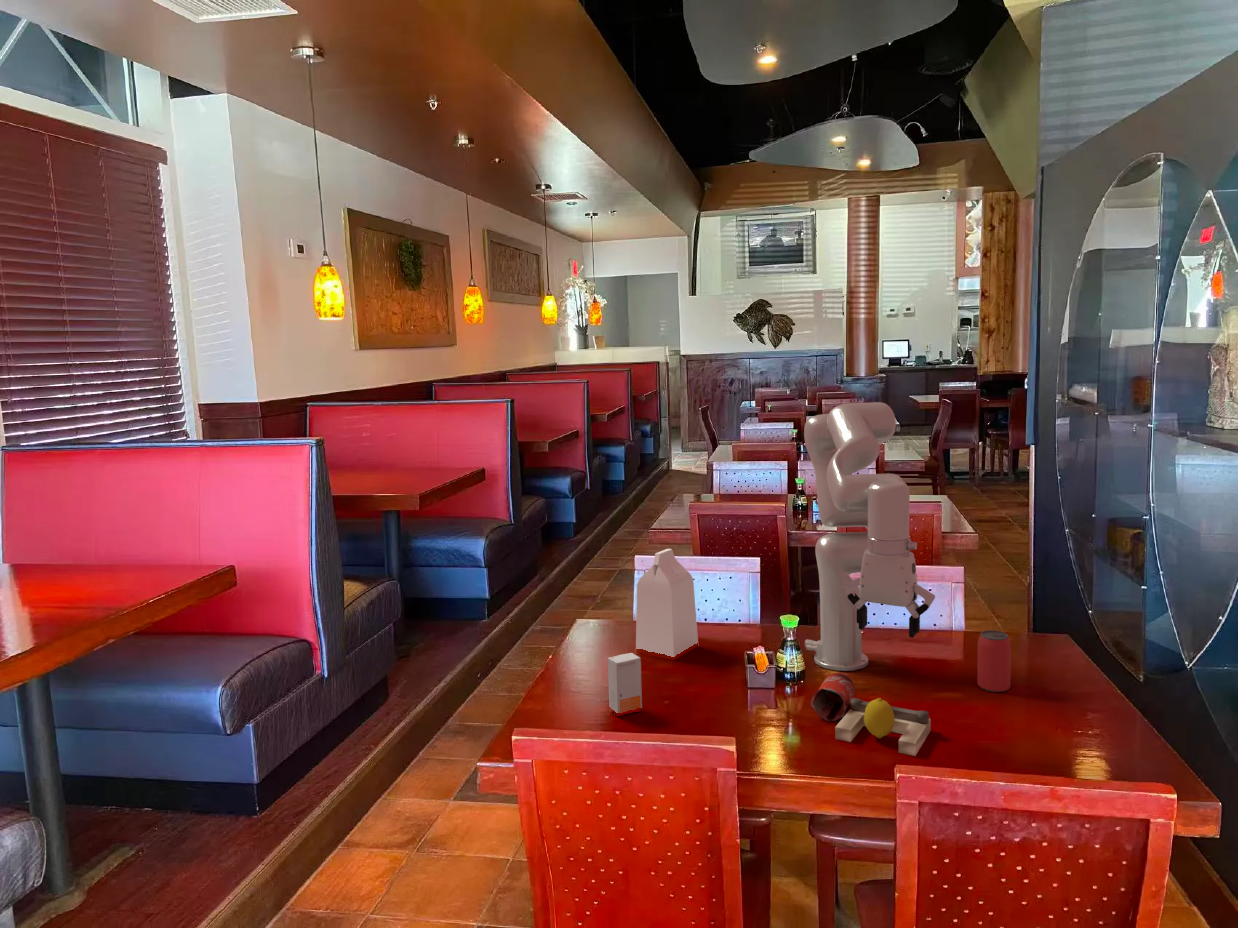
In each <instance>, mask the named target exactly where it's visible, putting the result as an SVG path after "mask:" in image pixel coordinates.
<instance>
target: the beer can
mask: <svg viewBox="0 0 1238 928" xmlns="http://www.w3.org/2000/svg"><path fill="white" fill-rule="evenodd" d="M1011 645H1012V644H1011V641H1010V639H1009V634H1007V633H1006V632H1004V631H1000V630H993V629H990V630H983V631H981V632H980V636H979V638H978V641H977V676H976V677H977V678H976V679H977V683H976V684H977V686H978V687H980V688H981V689H982V690H984V689H985V691H989V692H994V693H1003V692H1006V691H1009V689H1010V688H1011V672H1012V671H1011V670H1012V669H1011V666H1012V663H1011V659H1012V654H1011V653H1012V646H1011Z"/></svg>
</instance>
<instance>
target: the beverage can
mask: <svg viewBox="0 0 1238 928" xmlns="http://www.w3.org/2000/svg"><path fill="white" fill-rule="evenodd" d="M855 693H856V687H855V685H854V682H853V680H852V678H851V677H850V676H849V675H848V674H847V673H844V672H842V671H841V672H840V671H838V672H834V673H830V674H829V675H827V676H826V677H825V678H824V680H823V681H822V683H821V685H820V687H819V688H818V690H817V691H816V692H815V694H814V695H813V697H812V698H811V702H810V707H812V709H814V711H815V713H816V715H818V716H819V717H820V718H821V719H823V720H825V721H829V719H828V718H827V717H828V715H830V713H831V711H832V710H833V709H834V706H835V704H836V703H841V705H840V707H839V709H838V710H837V713H836V714H835V716H834V718H832V719H830V721H835V722H836V721H838V720H839V719H841V718H843V717H844V716H845V714H846V713H845V712H846V710H847V708H848V707H849V705H851V699H853V698H854V695H855Z"/></svg>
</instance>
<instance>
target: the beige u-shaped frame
mask: <svg viewBox="0 0 1238 928" xmlns="http://www.w3.org/2000/svg"><path fill="white" fill-rule="evenodd" d="M870 702H871V701H864V700H862V699H861V698H858V697H857V698H856V697H853V698H852V699H851V702H850V709H849V710H848V711H847V712H846V713H845V714H844V716H843V717H841V718H842V719H841V720H840V721H839V722H838V723H837V725H836V726H835V727H834V731H835V733H834V735H835V736H834V738H835V740H839V741H844V742H848V743H851V742H852V741H853V740H854V739H855V737H856V736H857V735H858V734H859V732H860V731H861V730H862V728H863V727H866V725H865V721H864V714H865V709H866V707H867V705H868V704H869V703H870ZM890 706H891V708H892V710H893V713H894V726H893V729H892V731H891V732H890V733H895V734H902V735H900V738H899V739H898V753H899V754H904V755H908V756H913V757H916V756H917V754H918V752H919V750H920V749H921V748H922V746H923V744H924V742H925V741H926V739H927V738H928V736H929V734H930V732H931V728H932V727H931V726H932V725H931V722H932V721H931V718H930V714H929V713H930V712H928V711H926V710H914V709H913V710H912V709H908V708H901V707H898V706H894V705H893V706H892V705H890Z"/></svg>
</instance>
